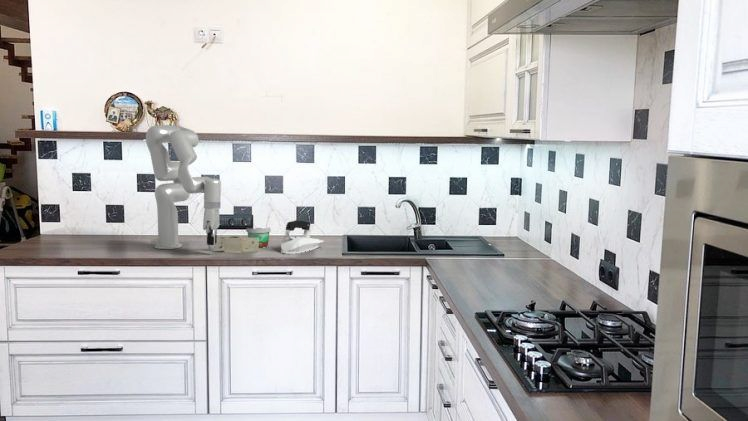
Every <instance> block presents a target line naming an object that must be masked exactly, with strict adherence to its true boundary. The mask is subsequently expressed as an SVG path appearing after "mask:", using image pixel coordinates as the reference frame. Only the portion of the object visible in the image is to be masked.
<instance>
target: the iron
mask: <svg viewBox="0 0 748 421" xmlns="http://www.w3.org/2000/svg"><path fill="white" fill-rule="evenodd" d="M296 228H297V229H301V230H302V231H303V230H304V231H303V235H302V236H297V235H296V236H295V235H291V232H293V231H295V229H296ZM313 229H314V228H313V227H311V222H308V221H305V220H292V221H288V222H287V223H286V226H285V237H284V238H283V239H282V242H281V244H280V253H281V254H286V255H287V254H288V255H289V254H291V255H296V254H295V253H297V254H301V252H302V253H305V251H306V252H310V251H313V250H316V249H317V248H319V245H320V244H322V243H324V242H325V240H323V239H320V238H314V237H311V236H310V235H311V232H312V230H313ZM309 250H310V251H309Z"/></svg>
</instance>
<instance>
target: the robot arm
mask: <svg viewBox="0 0 748 421" xmlns="http://www.w3.org/2000/svg"><path fill="white" fill-rule="evenodd" d="M199 140H200V139H199V135H198V134H197V133H196V132H195V131H194V130H192V129H190V128H186V127H183V126H180V125H177V124H176V125H168V124H159V125H157V124H156V125H152V126H150V127H149V128H148V129H147V131H146V134H145V142H146V143H145V144H146V146H147V149H148V151H149V154H150V159H151V165H152V169H153V173H154V174H153V175H154V178H155V179H156V180H157V181H159V182H167V183H162V184H159V185H158V186H156V187H155V189H154V198H155V202H156V209H157V211H156V213H157V238H150V243H151V244H153V243H154V247H155V248H156V249H159V250H172V249H173V250H174V249H179V248H182V245H183V244H182V243H180V242H179V213H178V208H177V207H176V205H175V203H178V202H179V203H180V202H184V201H187V200H188V199H189V198H190V195H191V194H192V195H193V194H203V209H204V210H203V211H204V212H203V220H202V221H203V222H202V229H203V231H205V234H206V245H214V237H213V231H214V230H215V244H216V243H217V235H218V228H219V227H220V209H221V202H222V201H221V197H222V194H221V192H222V191H221V188H222V186H221V185H222V183H221V180H220V179H218V178H213V177H212V178H211V177H209V176H195V177H192V174H191V173H190V170H189V166H190V165H191V164H193V163H194V162H196V161H197V159H198V155H197V153H196V151H195V149H194V148H195V147H197V146H198V145H199V143H200V141H199ZM163 143H167V144H169V143H170V145H171V147H172V149H173V151H174V153H175V156H176V157H177V160H178V161H176V160H174V161H171V157H170V154H169V151H168V149H167V148H166V146H165V145H164V144H163ZM171 181H172V182H171ZM168 182H170V183H168ZM210 229H211V230H210ZM210 231H212V233H211V232H210Z"/></svg>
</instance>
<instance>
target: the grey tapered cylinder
mask: <svg viewBox="0 0 748 421" xmlns="http://www.w3.org/2000/svg"><path fill="white" fill-rule="evenodd" d="M210 230H211V229H210ZM210 232H211V233H212V231H210ZM213 237H214V245H208V249H207V250H208V251H209V252H216V251H215V230H214V231H213Z"/></svg>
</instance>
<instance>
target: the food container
mask: <svg viewBox="0 0 748 421" xmlns="http://www.w3.org/2000/svg"><path fill="white" fill-rule="evenodd" d="M245 232H246V233H247V237H250V238H259V249H264V248H263V247H266V248H268V247H269V238H270V233H271V232H272V230H271V227H270V226H269V227H265V228H262V227H256V228H251V227H250V228H249V227H247V228H246V231H245ZM267 246H268V247H267Z"/></svg>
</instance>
